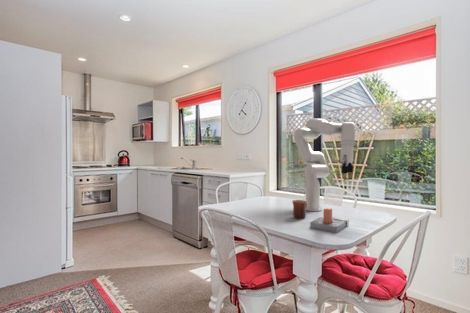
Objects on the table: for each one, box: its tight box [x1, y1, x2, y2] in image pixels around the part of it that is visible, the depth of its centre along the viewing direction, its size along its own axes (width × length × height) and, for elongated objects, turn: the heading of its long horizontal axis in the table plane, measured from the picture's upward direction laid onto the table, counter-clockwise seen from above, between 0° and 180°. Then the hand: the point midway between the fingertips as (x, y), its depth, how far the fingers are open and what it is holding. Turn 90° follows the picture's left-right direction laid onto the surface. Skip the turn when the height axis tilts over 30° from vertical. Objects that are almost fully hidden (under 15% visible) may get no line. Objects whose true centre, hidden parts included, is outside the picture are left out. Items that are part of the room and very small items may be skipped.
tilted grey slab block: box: [332, 216, 350, 228], centre depth 153 cm, size 10×3×3 cm, turn 52°
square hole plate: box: [309, 217, 347, 234], centre depth 146 cm, size 14×14×3 cm
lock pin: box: [322, 207, 333, 223], centre depth 146 cm, size 3×3×10 cm
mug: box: [291, 199, 307, 220], centre depth 168 cm, size 12×9×10 cm
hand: (347, 172), depth 161 cm, fingers open, 9 cm apart
